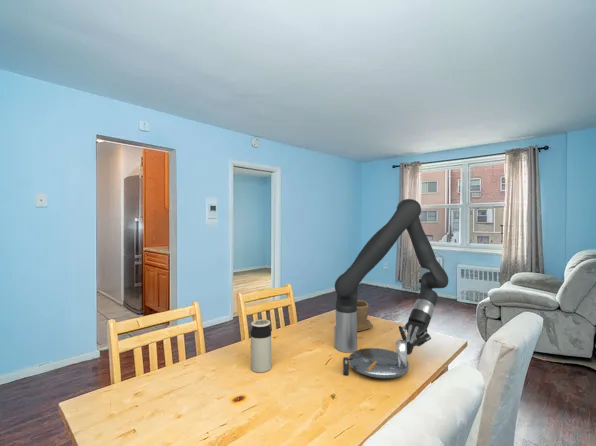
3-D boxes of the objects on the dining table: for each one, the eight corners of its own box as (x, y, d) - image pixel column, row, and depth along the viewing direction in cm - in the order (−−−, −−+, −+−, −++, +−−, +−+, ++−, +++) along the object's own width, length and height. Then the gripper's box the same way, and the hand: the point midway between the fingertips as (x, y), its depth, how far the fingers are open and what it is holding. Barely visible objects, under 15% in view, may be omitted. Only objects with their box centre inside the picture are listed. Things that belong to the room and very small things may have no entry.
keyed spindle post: (342, 374, 119) (342, 358, 119) (373, 359, 131) (373, 344, 131) (370, 387, 109) (370, 370, 109) (400, 370, 122) (400, 354, 122)
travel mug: (275, 367, 125) (275, 322, 124) (260, 375, 119) (259, 327, 118) (262, 361, 130) (262, 317, 130) (246, 368, 124) (246, 322, 124)
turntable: (337, 360, 125) (337, 334, 125) (375, 347, 138) (375, 323, 138) (381, 384, 107) (381, 353, 107) (420, 366, 120) (420, 339, 120)
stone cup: (355, 335, 158) (355, 305, 157) (341, 328, 168) (341, 300, 168) (379, 330, 164) (379, 301, 164) (365, 323, 175) (364, 296, 175)
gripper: (402, 305, 129) (386, 343, 121) (435, 311, 120) (419, 354, 112) (409, 315, 133) (394, 353, 125) (441, 322, 123) (427, 364, 115)
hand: (406, 353), depth 118 cm, fingers closed
